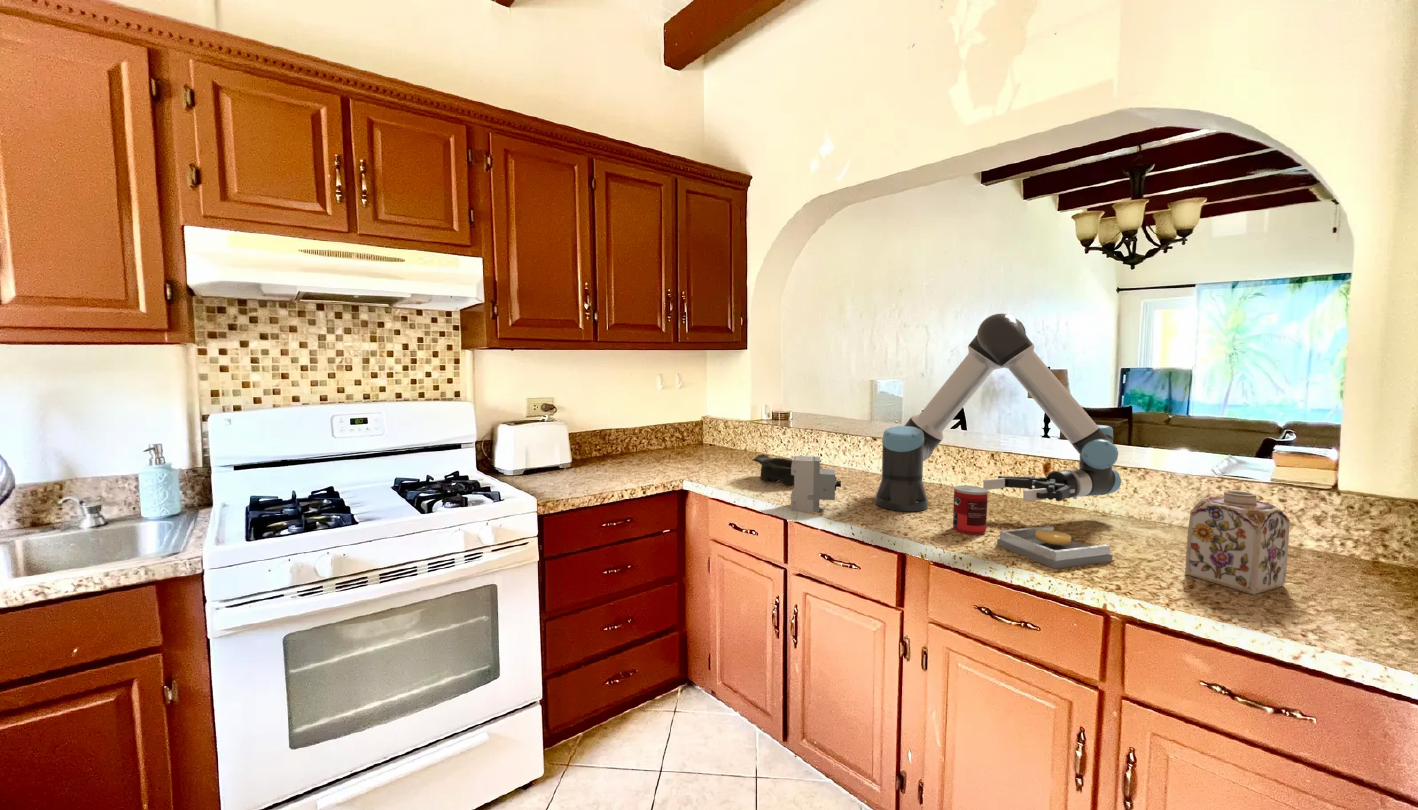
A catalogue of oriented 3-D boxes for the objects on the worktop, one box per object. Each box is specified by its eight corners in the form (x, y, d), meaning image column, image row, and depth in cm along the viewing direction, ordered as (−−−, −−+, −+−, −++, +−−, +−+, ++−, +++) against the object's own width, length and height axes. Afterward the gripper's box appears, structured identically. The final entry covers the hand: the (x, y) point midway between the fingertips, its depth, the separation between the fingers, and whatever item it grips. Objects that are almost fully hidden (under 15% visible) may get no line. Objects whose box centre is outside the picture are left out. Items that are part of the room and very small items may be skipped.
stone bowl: (739, 481, 204) (740, 456, 204) (777, 476, 223) (778, 452, 223) (799, 491, 188) (800, 463, 188) (834, 484, 207) (835, 458, 207)
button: (1051, 538, 134) (1052, 528, 134) (1078, 548, 128) (1078, 537, 127) (1027, 541, 132) (1028, 531, 132) (1053, 551, 126) (1054, 540, 126)
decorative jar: (1254, 596, 107) (1262, 502, 105) (1182, 574, 117) (1188, 489, 116) (1287, 586, 111) (1295, 496, 110) (1215, 566, 122) (1221, 483, 120)
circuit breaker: (840, 513, 164) (841, 461, 162) (790, 510, 166) (791, 460, 165) (839, 506, 171) (840, 457, 170) (792, 504, 174) (792, 455, 172)
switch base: (1050, 539, 140) (1050, 525, 140) (1112, 561, 125) (1113, 545, 124) (996, 545, 136) (997, 530, 135) (1054, 568, 120) (1055, 552, 120)
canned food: (959, 524, 153) (961, 483, 152) (990, 530, 147) (992, 488, 146) (947, 530, 148) (949, 488, 147) (979, 537, 142) (981, 493, 141)
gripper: (1110, 508, 143) (1043, 516, 137) (1029, 488, 167) (969, 493, 161) (1111, 479, 143) (1043, 485, 137) (1030, 462, 166) (969, 467, 161)
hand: (1003, 490), depth 149 cm, fingers open, 13 cm apart
